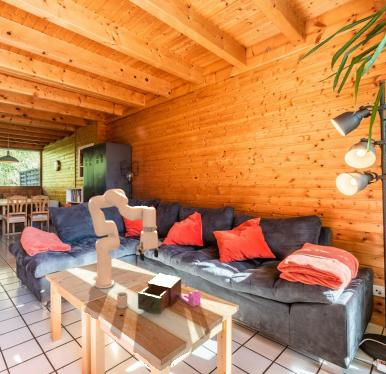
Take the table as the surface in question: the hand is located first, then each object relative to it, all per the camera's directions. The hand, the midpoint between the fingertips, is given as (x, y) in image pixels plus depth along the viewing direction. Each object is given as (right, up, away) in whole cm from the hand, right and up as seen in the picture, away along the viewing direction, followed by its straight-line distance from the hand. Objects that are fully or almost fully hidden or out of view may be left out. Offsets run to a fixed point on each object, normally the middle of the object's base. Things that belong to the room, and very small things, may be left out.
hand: (149, 258), depth 147 cm
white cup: (-15, -25, -4) cm, 30 cm away
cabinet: (+9, -25, +6) cm, 27 cm away
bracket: (+23, -25, +2) cm, 34 cm away
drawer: (+2, -25, -7) cm, 26 cm away
